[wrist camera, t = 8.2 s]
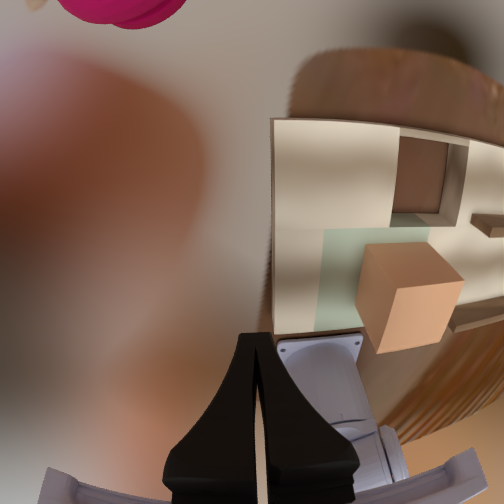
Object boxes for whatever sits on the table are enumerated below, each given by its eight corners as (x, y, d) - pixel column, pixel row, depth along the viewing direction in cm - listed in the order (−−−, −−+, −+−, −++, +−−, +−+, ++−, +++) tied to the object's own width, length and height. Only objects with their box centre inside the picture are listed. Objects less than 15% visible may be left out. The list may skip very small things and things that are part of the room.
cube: (411, 298, 21) (439, 341, 16) (354, 304, 21) (376, 354, 16) (426, 241, 18) (464, 280, 14) (365, 243, 18) (397, 288, 14)
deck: (500, 286, 24) (512, 298, 22) (271, 313, 24) (274, 334, 22) (534, 156, 17) (551, 164, 15) (269, 117, 17) (273, 120, 15)
